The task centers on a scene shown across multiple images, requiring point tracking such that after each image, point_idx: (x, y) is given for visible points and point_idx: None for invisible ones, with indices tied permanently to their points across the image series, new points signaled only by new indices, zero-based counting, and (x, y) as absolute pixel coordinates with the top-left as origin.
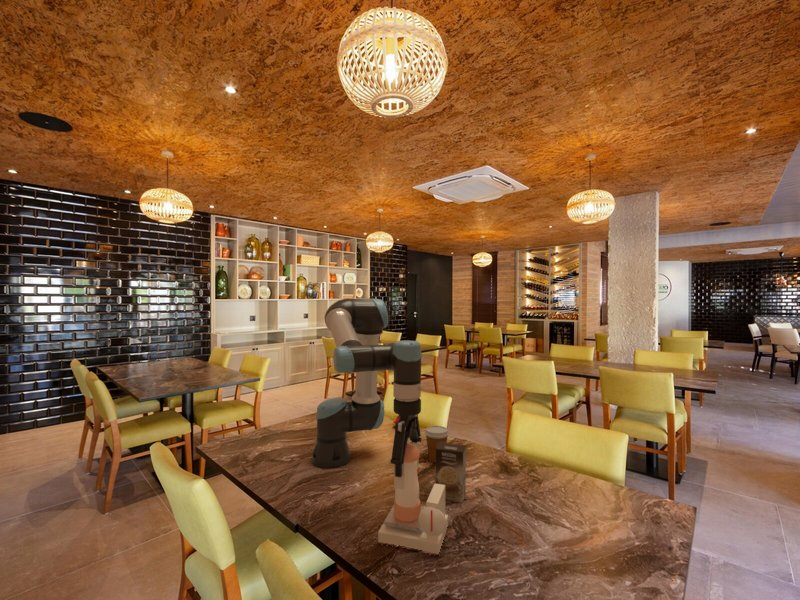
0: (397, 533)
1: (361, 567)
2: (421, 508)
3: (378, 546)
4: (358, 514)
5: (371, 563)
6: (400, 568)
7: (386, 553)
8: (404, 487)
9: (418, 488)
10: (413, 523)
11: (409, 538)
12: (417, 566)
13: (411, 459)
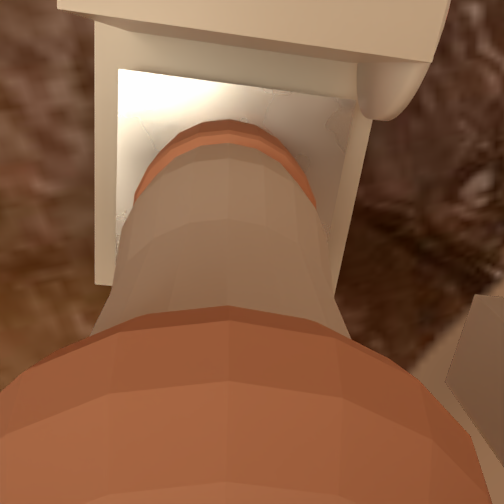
0: (334, 220)
1: (459, 306)
2: (142, 123)
3: (339, 277)
4: None
5: (438, 278)
6: (464, 164)
7: (379, 237)
8: (497, 302)
9: (238, 166)
10: (311, 150)
11: (363, 155)
12: (452, 92)
13: (466, 440)
